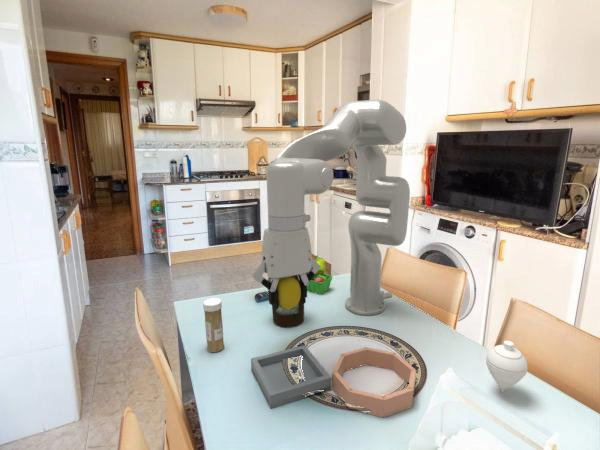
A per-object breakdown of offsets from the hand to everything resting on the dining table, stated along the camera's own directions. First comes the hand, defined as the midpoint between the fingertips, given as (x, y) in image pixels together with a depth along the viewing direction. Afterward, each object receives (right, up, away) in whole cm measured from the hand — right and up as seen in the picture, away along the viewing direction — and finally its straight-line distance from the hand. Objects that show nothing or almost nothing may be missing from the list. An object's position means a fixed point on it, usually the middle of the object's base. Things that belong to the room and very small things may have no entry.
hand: (288, 303), depth 79 cm
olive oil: (-1, -12, +31) cm, 34 cm away
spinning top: (+46, -19, -1) cm, 50 cm away
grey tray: (0, -18, +4) cm, 19 cm away
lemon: (0, -2, 0) cm, 2 cm away
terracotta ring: (+19, -19, +2) cm, 27 cm away
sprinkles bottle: (-20, -16, +17) cm, 31 cm away
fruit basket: (+8, -7, +55) cm, 55 cm away
